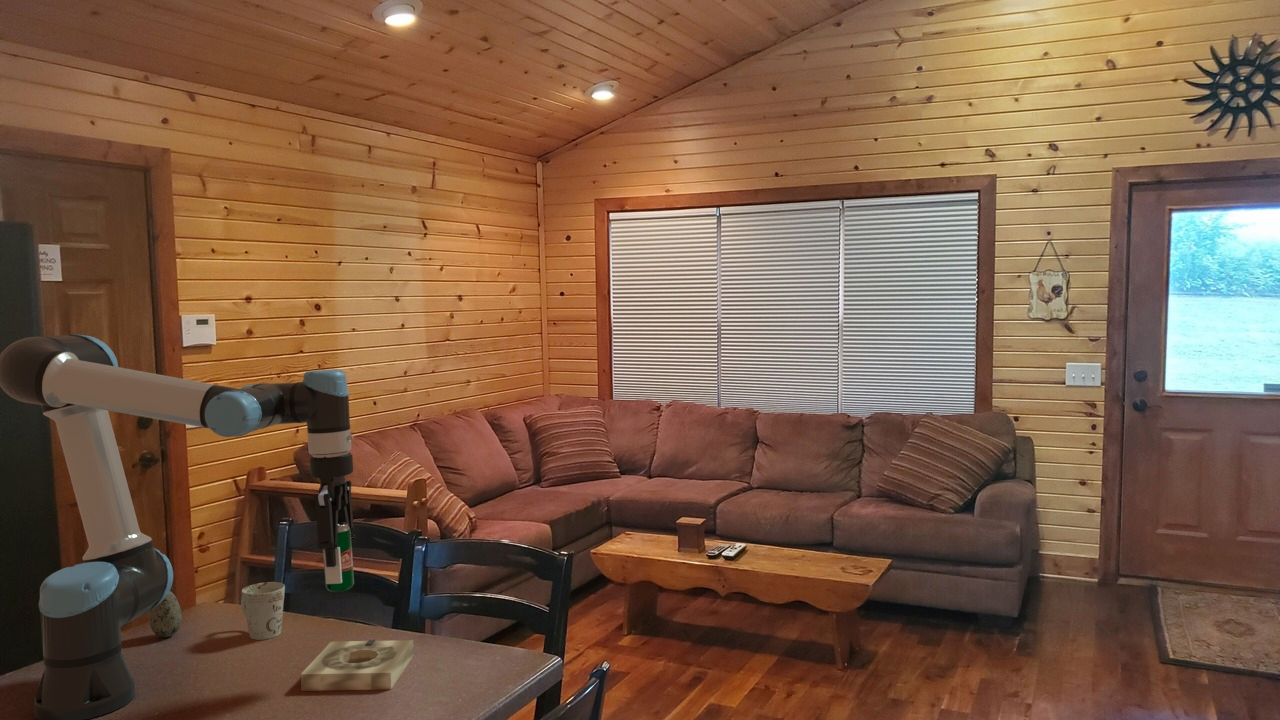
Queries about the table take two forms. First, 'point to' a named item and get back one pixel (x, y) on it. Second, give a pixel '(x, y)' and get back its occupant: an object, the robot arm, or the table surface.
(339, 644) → the hub block
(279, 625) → the mug
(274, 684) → the table surface
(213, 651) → the table surface
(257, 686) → the table surface
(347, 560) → the soda can
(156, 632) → the decorative egg
